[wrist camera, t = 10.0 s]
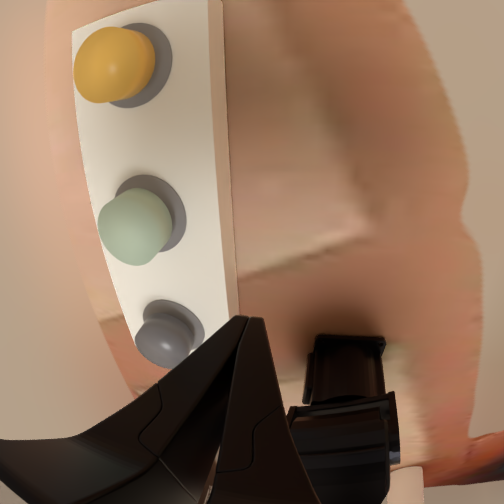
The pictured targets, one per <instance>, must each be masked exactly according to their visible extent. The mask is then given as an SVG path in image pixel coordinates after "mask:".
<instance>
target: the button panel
mask: <svg viewBox="0 0 504 504" xmlns="http://www.w3.org/2000/svg"><path fill="white" fill-rule="evenodd" d="M104 27H119V28H124V29H129V30H134V31H138V32H141V33H142V34H144V35H145V36H146V37H148V39H149V40H150V41H151V43H152V45H153V48H154V51H155V67H154V71H153V73H152V76H151V78H150V80H149V82H148V83H147V85H146V86H145V87H144V88H143V89H142V90H141V91H140V92H139V93H138V94H136V95H135V96H133V97H131V98H128V99H124V100H118V101H112V102H106V103H92V102H90V101H88V100H86V99H85V98H83V97H82V96H81V94H80V93H79V92H78V90H77V88H76V85H75V82H74V77H73V83H74V96H75V106H76V116H77V124H78V132H79V139H80V146H81V152H82V158H83V164H84V170H85V175H86V180H87V185H88V190H89V195H90V200H91V204H92V209H93V213H94V217H95V221H96V225H97V229H98V216H99V213H100V211H101V209H102V208H103V206H104V205H105V204H107V203H108V202H110V201H111V200H113V199H114V198H116V197H117V196H119V195H120V194H122V193H123V192H125V191H127V190H129V189H132V188H142V189H146V190H148V191H150V192H152V193H154V194H155V195H157V196H158V197H159V198H160V199H161V200H162V201H163V202H164V204H165V205H166V207H167V208H168V211H169V213H170V216H171V219H172V233H171V236H170V238H169V240H168V242H167V243H166V244H165V245H164V246H163V248H162V249H161V250H160V251H159V252H158V253H157V254H156V256H155V257H154V258H153V259H152V260H151V261H150V262H148V263H147V264H145V265H141V266H133V265H128V264H125V263H123V262H121V261H119V260H118V259H116V258H115V257H114V256H113V255H112V254H111V253H110V252H109V251H108V250H107V249H106V247H105V246H104V244H103V242H102V240H101V238H100V241H101V244H102V248H103V252H104V255H105V258H106V262H107V265H108V269H109V272H110V275H111V278H112V281H113V285H114V288H115V291H116V294H117V297H118V300H119V302H120V305H121V308H122V311H123V314H124V317H125V319H126V322H127V325H128V327H129V330H130V333H131V335H132V338H133V340H134V343H135V336H136V334H137V332H138V331H139V329H140V328H141V326H142V325H143V323H144V322H145V320H146V319H147V317H148V316H149V315H151V314H154V313H165V314H168V315H171V316H174V317H176V318H177V319H179V320H181V321H182V322H183V323H184V324H186V325H187V327H188V328H189V329H190V330H191V332H192V334H193V336H194V345H193V347H192V349H191V351H190V353H189V355H190V354H191V353H192V352H193V351H194V350H195V349H197V348H198V347H199V346H200V345H201V344H202V343H204V342H205V341H206V340H207V339H208V338H209V337H210V336H212V335H213V334H214V333H215V332H216V331H217V330H218V329H220V328H221V327H222V326H223V325H224V324H225V323H226V322H228V321H229V320H230V319H231V318H232V317H233V316H235V315H240V312H239V299H238V285H237V271H236V257H235V242H234V227H233V211H232V195H231V178H230V160H229V142H228V122H227V101H226V79H225V55H224V27H223V2H222V1H221V0H158V1H154V2H150V3H147V4H143V5H140V6H137V7H134V8H131V9H128V10H125V11H122V12H119V13H116V14H113V15H110V16H108V17H105V18H102V19H100V20H97V21H95V22H92V23H90V24H88V25H85V26H83V27H81V28H78V29H76V30H74V31H72V65H73V67H74V61H75V57H76V55H77V52H78V50H79V48H80V46H81V45H82V43H83V42H84V41H85V40H86V38H87V37H88V36H89V35H91V34H92V33H93V32H95V31H97V30H99V29H101V28H104ZM98 233H99V231H98ZM99 237H100V235H99ZM135 345H136V344H135Z"/></svg>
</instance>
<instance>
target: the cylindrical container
mask: <svg viewBox="0 0 504 504" xmlns="http://www.w3.org/2000/svg"><path fill="white" fill-rule="evenodd" d="M387 500H388V501H387V504H424V490H423V470H422V467H420V466H412V467H406V468H401V469H398V470H395V471H393V472H391V473H390V489H389V492H388V498H387Z"/></svg>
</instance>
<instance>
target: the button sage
mask: <svg viewBox="0 0 504 504" xmlns="http://www.w3.org/2000/svg"><path fill="white" fill-rule="evenodd" d="M98 231H99V235H100V238H101V240H102V242H103V244H104V246H105V247H106V249H107V250H108V251H109V252H110V253H111V254H112V255H113V256H114V257H115V258H116V259H118V260H119V261H121V262H123V263H125V264H128V265H133V266H141V265H145V264H147V263H148V262H150V261H151V260H152V259H153V258H154V257H155V256H156V254H157V253H158V252H159V251H160V250H161V249H162V248H163V246H164V245H165V244H166V243H167V242H168V240H169V238H170V236H171V233H172V219H171V216H170V213H169V211H168V208H167V207H166V205H165V204H164V202H163V201H162V200H161V199H160V198H159V197H158V196H157V195H155V194H154V193H152V192H150V191H148V190H146V189H142V188H132V189H129V190H127V191H125V192H123V193H122V194H120V195H119V196H117V197H116V198H114V199H113V200H111V201H110V202H108V203H107V204H105V205H104V206H103V208H102V209H101V211H100V213H99V216H98Z"/></svg>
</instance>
